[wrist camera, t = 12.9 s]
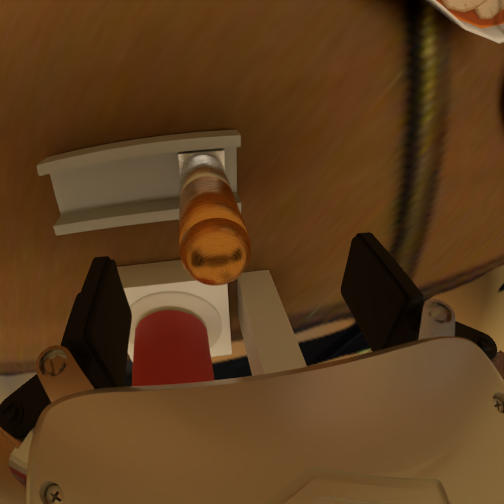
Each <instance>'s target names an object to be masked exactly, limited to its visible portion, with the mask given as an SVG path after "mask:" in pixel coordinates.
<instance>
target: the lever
mask: <svg viewBox="0 0 504 504" xmlns="http://www.w3.org/2000/svg"><path fill="white" fill-rule="evenodd" d="M178 158H179V169H180V205H179V253H180V259H181V262H182V264H183V267H184V268H185V270H186V271H187V273H188V274H189V275H190V276H191V277H193V278H194V279H195V280H197V281H198V282H200V283H203V284H206V285H211V286H219V285H225V284H228V283H230V282H232V281H234V280H236V279H237V278H238V277H239V276H240V275H241V274H242V273H243V272H244V271H245V269H246V268H247V266H248V264H249V261H250V257H251V242H250V238H249V235H248V233H247V230H246V227H245V224H244V222H243V219H242V216H241V214H240V211H239V208H238V205H237V203H236V200H235V197H234V195H233V192H232V189H231V186H230V184H229V181H228V178H227V176H226V173H225V157H224V148H217V149H205V150H193V151H183V152H178Z"/></svg>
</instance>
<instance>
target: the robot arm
mask: <svg viewBox="0 0 504 504" xmlns="http://www.w3.org/2000/svg"><path fill="white" fill-rule="evenodd" d="M341 294H342V296H343V298H344V300H345V302H346V303H347V305H348V307H349V309H350V311H351V312H352V314H353V316H354V318H355V320H356V322H357V323H358V325H359V327H360V329H361V331H362V333H363V334H364V336H365V338H366V340H367V342H368V344H369V346H370V348H371V350H372V351H373V352H370V353H366V354H362V355H358V356H354V357H350V358H346V359H341V360H337V361H332V362H327V363H323V364H318V365H313V366H308V367H303V368H297V369H292V370H286V371H280V372H274V373H268V374H261V375H255V376H248V377H240V378H232V379H224V380H215V381H205V382H194V383H182V384H167V385H151V386H130V387H124V382H125V371H126V362H127V353H128V344H129V336H130V329H131V322H132V313H131V309H130V306H129V303H128V300H127V297H126V294H125V291H124V288H123V285H122V282H121V279H120V276H119V273H118V270H117V267H116V263H115V261H114V260H110V258H109V257H108V256H105V257H95V258H94V259H93V261H92V264H91V266H90V269H89V272H88V274H87V277H86V280H85V282H84V285H83V288H82V290H81V293H79V294H78V295H77V297H76V299H75V302H74V305H73V308H72V311H71V314H70V317H69V320H68V323H67V326H66V329H65V333H64V336H63V339H62V343H61V346H59V345H55V346H51V347H49V348H47V349H45V350H44V351H43V352H42V353H41V354H40V355H39V357H38V358H37V361H36V366H35V369H36V373H37V374H36V375H35V376H34V377H32V378H31V379H30V380H29V381H27V382H26V383H25V384H23V385H22V386H21V387H20V388H18V389H17V390H16V391H15V392H13V393H12V394H11V395H10V396H8V397H7V398H6V399H5V400H4V401H3V402H2V403H1V404H0V504H504V352H502V351H501V350H500V351H499V352H497V347H496V344H495V342H494V341H493V339H492V338H491V337H490V336H488V335H487V334H485V333H483V332H480V331H478V330H476V329H473V328H471V327H468V326H466V325H463V324H461V323H459V322H456V321H455V314H454V312H453V310H452V309H451V307H450V306H449V305H447V304H446V303H445V302H442V301H440V300H436V299H431V300H428V301H426V302H425V303H424V301H423V300H422V299H423V294H422V293H421V292H420V291H419V289H418V288H417V287H416V285H415V284H414V283H413V282H412V280H411V279H410V278H409V277H408V275H407V274H406V273H405V272H404V271H403V269H402V268H401V267H400V266H399V265H398V263H397V262H396V261H395V260H394V259H393V257H392V256H391V255H390V254H389V253H388V251H387V250H386V249H385V248H384V247H383V246H382V245H381V243H380V242H379V241H378V240H377V239H376V238H375V237H374V235H373V234H372V233H358V234H357V235H356V237H354V238H353V239H352V242H351V247H350V251H349V256H348V260H347V264H346V269H345V273H344V277H343V281H342V285H341Z"/></svg>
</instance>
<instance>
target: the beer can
mask: <svg viewBox="0 0 504 504" xmlns="http://www.w3.org/2000/svg"><path fill="white" fill-rule="evenodd" d="M205 381H214V374H213V368H212V361H211V354H210V347H209V340H208V333H207V329H206V327H205V326H204V324H203V323H202V322H201V321H200V320H199V319H198V318H196V317H195V316H193V315H192V314H189V313H186V312H183V311H178V310H162V311H157V312H154V313H151V314H149V315H147V316H146V317H145V318H143V319H142V320H141V321H140V322H139V324H138V325H137V327H136V328H135V339H134V354H133V372H132V386H151V385H167V384H182V383H194V382H205Z"/></svg>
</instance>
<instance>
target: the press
mask: <svg viewBox="0 0 504 504" xmlns="http://www.w3.org/2000/svg"><path fill="white" fill-rule="evenodd" d="M237 147H241V135H240V133H239V132H238V131H237V130H219V131H205V132H193V133H182V134H173V135H164V136H156V137H148V138H141V139H134V140H128V141H122V142H116V143H110V144H105V145H99V146H94V147H89V148H84V149H79V150H75V151H70V152H66V153H62V154H57V155H53V156H49V157H46V158H45V159H43V160H42V161H41V162H40V163H39V164H37V165H36V167H37V171H38V175H39V176H42V175H46V174H50V176H51V181H52V185H53V189H54V192H55V196H56V200H57V204H58V207H59V211H60V214H61V215H60V217H59V218H58V220H57V221H56V223H55V224H54V226H53V227H54V230H55V233H56V236H57V235H64V234H70V233H77V232H84V231H91V230H98V229H105V228H112V227H120V226H127V225H135V224H143V223H151V222H160V221H168V220H177V219H179V205H180V169H179V158H178V152H183V151H193V150H205V149H217V148H224V157H225V173H226V176H227V178H228V181H229V184H230V186H231V189H232V192H233V195H234V197H235V200H236V203H237V205H238V208H239V211H240V213H241V201H240V199H239V196H238V194H237ZM117 270H118V273H119V276H120V279H121V282H122V285H123V288H124V291H125V294H126V297H127V300H128V303H129V306H130V309H131V313H132V322H131V329H130V336H129V344H128V354H129V356H130V358H131V360H132V362H133V354H134V339H135V328H136V327H137V325H138V324H139V322H140V321H141V320H142V319H143V318H145V317H146V316H147V315H149V314H151V313H154V312H157V311H162V310H178V311H183V312H186V313H189V314H192V315H193V316H195V317H196V318H198V319H199V320H200V321H201V322H202V323H203V324H204V326H205V327H206V329H207V333H208V340H209V347H210V354H211V357H214V356H222V355H229V354H232V350H231V335H230V320H229V304H228V287H227V284H225V285H219V286H211V285H206V284H203V283H200V282H198V281H197V280H195V279H194V278H193V277H191V276H190V275H189V274H188V273H187V271H186V270H185V268H184V267H183V264H182V262H181V260H174V261H165V262H156V263H147V264H138V265H129V266H120V267H117ZM237 293H238V318H239V323H240V327H241V331H242V335H243V339H244V343H245V348H246V352H247V356H248V360H249V364H250V368H251V372H252V376H255V375H261V374H268V373H274V372H280V371H286V370H292V369H297V368H303V367H307V366H306V363H305V361H304V358H303V356H302V353H301V350H300V348H299V345H298V343H297V340H296V338H295V335H294V333H293V330H292V327H291V325H290V322H289V320H288V317H287V315H286V312H285V310H284V307H283V305H282V302H281V300H280V297H279V294H278V292H277V289H276V287H275V284H274V282H273V279H272V277H271V274H270V272H269V270H261V271H253V272H245V273H242V274H241V275H240V276H239V277H238V278H237Z"/></svg>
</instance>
